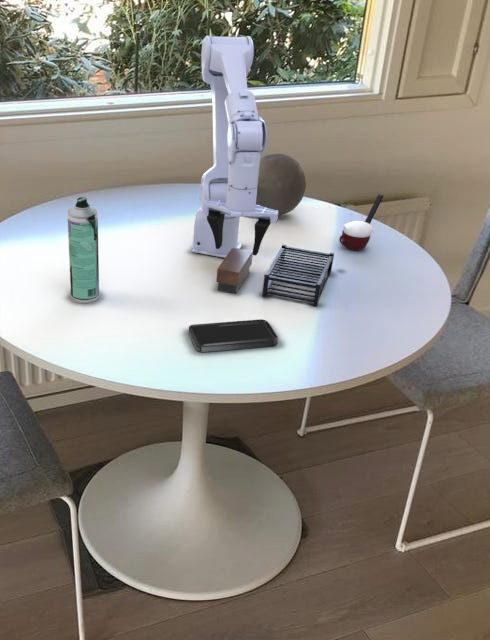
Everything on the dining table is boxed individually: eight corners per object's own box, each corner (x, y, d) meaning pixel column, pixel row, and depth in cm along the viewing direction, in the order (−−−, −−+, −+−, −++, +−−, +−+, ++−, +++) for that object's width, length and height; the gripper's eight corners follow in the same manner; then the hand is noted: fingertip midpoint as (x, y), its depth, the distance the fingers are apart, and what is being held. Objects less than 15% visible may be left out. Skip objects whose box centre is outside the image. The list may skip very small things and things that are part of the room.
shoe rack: (262, 296, 153) (264, 274, 150) (280, 264, 165) (282, 244, 163) (316, 307, 150) (320, 285, 147) (330, 273, 162) (334, 253, 160)
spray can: (103, 293, 151) (102, 196, 140) (92, 305, 147) (89, 206, 136) (78, 288, 153) (74, 191, 142) (66, 300, 148) (61, 201, 137)
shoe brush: (215, 291, 154) (217, 268, 151) (230, 269, 163) (232, 247, 160) (236, 295, 153) (238, 272, 150) (250, 272, 161) (252, 251, 159)
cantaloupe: (245, 202, 196) (251, 144, 188) (301, 207, 194) (309, 149, 186) (242, 223, 184) (247, 162, 176) (301, 229, 183) (309, 167, 174)
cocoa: (339, 253, 171) (347, 202, 165) (332, 242, 177) (340, 191, 170) (380, 253, 172) (390, 202, 166) (372, 242, 178) (381, 192, 171)
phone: (279, 340, 136) (197, 347, 133) (279, 345, 137) (197, 352, 134) (266, 318, 142) (187, 324, 139) (265, 323, 143) (187, 329, 140)
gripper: (200, 185, 145) (196, 251, 152) (275, 197, 141) (267, 264, 149) (211, 174, 151) (207, 238, 158) (283, 185, 147) (275, 250, 154)
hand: (237, 250), depth 154 cm, fingers open, 7 cm apart
